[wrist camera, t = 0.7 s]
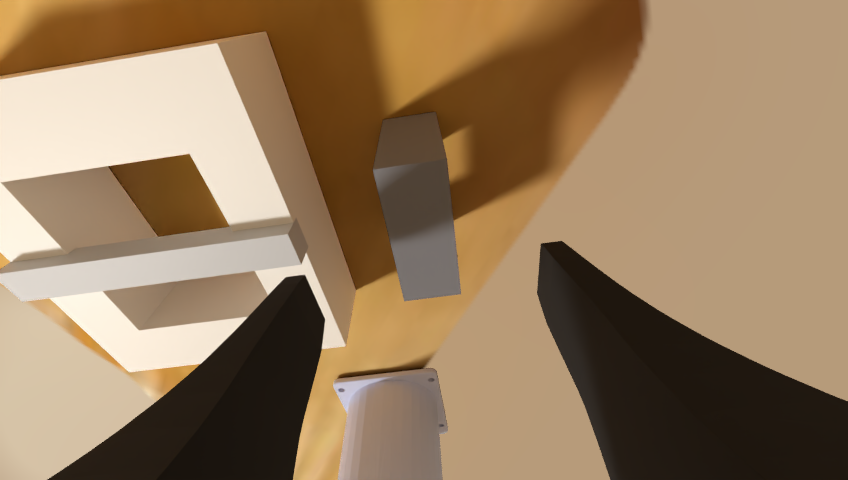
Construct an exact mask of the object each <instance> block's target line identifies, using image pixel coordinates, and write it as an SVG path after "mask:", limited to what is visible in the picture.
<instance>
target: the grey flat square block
mask: <svg viewBox="0 0 848 480" xmlns="http://www.w3.org/2000/svg"><path fill="white" fill-rule="evenodd" d="M373 173H374V177H375V181H376V185H377V190H378V194H379V198H380V202H381V206H382V210H383V215H384V219H385V223H386V227H387V231H388V235H389V239H390V244H391V248H392V252H393V256H394V260H395V264H396V268H397V273H398V277H399V281H400V285H401V289H402V293H403V297H404V301H410V300H418V299H426V298H434V297H441V296H449V295H457V294H461V289H460V279H459V270H458V260H457V251H456V241H455V232H454V222H453V213H452V203H451V193H450V184H449V174H448V165H447V157H446V153H445V149H444V145H443V140H442V136H441V132H440V128H439V123H438V119H437V115H436V112H430V113H424V114H417V115H411V116H404V117H398V118H391V119H385V120H383V122H382V127H381V132H380V137H379V142H378V146H377V151H376V156H375V161H374V166H373Z"/></svg>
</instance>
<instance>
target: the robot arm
mask: <svg viewBox="0 0 848 480" xmlns="http://www.w3.org/2000/svg"><path fill="white" fill-rule="evenodd" d="M537 294H538V297H539V301H540V304H541V307H542V310H543V313H544V316H545V319H546V322H547V325H548V327H549V329H550V331H551V333H552V336H553V338H554V339H555V342H556V344H557V346H558V348H559V350H560V352H561V355H562V357H563V359H564V361H565V363H566V365H567V368H568V370H569V372H570V374H571V376H572V378H573V380H574V382H575V385H576V387H577V389H578V391H579V393H580V396H581V398H582V401H583V403H584V405H585V408H586V410H587V413H588V416H589V419H590V422H591V425H592V427H593V430H594V433H595V436H596V439H597V441H598V444H599V447H600V450H601V453H602V456H603V459H604V462H605V465H606V468H607V471H608V474H609V477H610V480H848V401H845V400H843V399H840V398H837V397H835V396H833V395H830V394H828V393H825V392H823V391H820V390H818V389H816V388H813V387H811V386H809V385H806V384H804V383H802V382H799V381H797V380H795V379H792V378H790V377H788V376H785V375H783V374H781V373H779V372H776V371H774V370H772V369H770V368H767V367H765V366H763V365H761V364H759V363H757V362H754V361H752V360H750V359H748V358H746V357H744V356H742V355H740V354H738V353H736V352H734V351H732V350H730V349H728V348H726V347H724V346H722V345H720V344H718V343H716V342H714V341H712V340H710V339H708V338H706V337H704V336H702V335H701V334H699V333H697V332H695V331H693V330H691V329H690V328H688V327H686V326H684V325H683V324H681V323H679V322H677V321H676V320H674V319H672V318H670V317H669V316H667V315H665V314H664V313H662V312H660V311H659V310H657V309H656V308H654V307H652V306H651V305H649V304H648V303H646V302H645V301H643V300H641V299H640V298H638V297H637V296H635V295H634V294H632V293H631V292H629V291H628V290H627V289H625V288H624V287H622V286H621V285H619V284H618V283H616V282H615V281H614V280H612V279H611V278H610V277H608V276H607V275H606V274H604V273H603V272H602V271H600V270H598V268H596V267H595V266H594V265H592V264H591V263H590V262H588V261H587V260H586V259H584V258H583V257H582V256H581V255H579V254H578V253H577V252H575V251H574V250H573V249H572V248H570V247H569V246H568V245H566V244H565V243H564V242H562V241H558V242H550V243H543V244H541V249H540V263H539V276H538V290H537ZM324 326H325V318H324V316H323V313H322V311H321V309H320V307H319V305H318V302H317V300H316V298H315V296H314V293H313V291H312V289H311V287H310V285H309V282H308V280H307V278H306V276H305V275H298V276H290V277H285V278H284V279H283V280H282V281H281V282H280V283H279V284H278V285H277V286H276V287H275V289H274V290H273V291H272V292H271V293H270V294H269V295H268V296H267V297H266V298H265V299H264V300H263V301H262V302H261V304H260V305H259V306H258V307H257V308H256V309H255V310H254V311H253V312H252V313H251V314H250V315H249V316H248V317H247V318H246V320H245V321H244V322H243V323H242V324H241V325H240V326H239V327H238V328H237V329H236V330H235V331H234V332H233V333H232V334H231V335H230V336H229V337H228V338H227V339H226V340H225V341H224V342H223V343H222V344H221V345H220V346H219V347H218V348H217V349H216V350H215V351H214V352H213V353H212V354H211V355H210V356H209V357H208V358H207V359H206V360H204V361H203V362H202V363H201V364H200V365H199V366H198V367H197V368H196V369H195V370H193V371H192V372H191V373H190V374H189V375H188V376H187V377H186V378H184V379H183V380H182V381H181V382H180V383H178V384H177V385H176V386H175V387H174V388H173V389H171V390H170V391H169V392H168V393H167V394H165V395H164V396H163V397H162V398H161V399H159V400H158V401H157V402H155V403H154V404H153V405H151V406H150V407H149V408H148V409H146V410H145V411H144V412H142V413H141V414H140V415H139V416H137V417H136V418H135V419H133V420H132V421H131V422H129V423H128V424H127V425H126V426H124V427H123V428H122V429H120V430H119V431H118V432H116V433H115V434H113V435H112V436H111V437H109V438H108V439H106V440H105V441H104V442H102V443H101V444H99V445H98V446H97V447H95V448H94V449H92V450H91V451H90V452H88V453H87V454H85V455H84V456H82V457H81V458H79V459H78V460H76V461H75V462H73V463H72V464H70V465H69V466H67V467H66V468H65V469H63V470H62V471H60V472H59V473H57V474H55V475H54V476H52V477H51V478H49V479H48V480H293V474H294V468H295V462H296V456H297V449H298V443H299V437H300V433H301V428H302V424H303V419H304V415H305V412H306V408H307V404H308V400H309V397H310V393H311V389H312V385H313V381H314V378H315V374H316V370H317V366H318V362H319V358H320V354H321V350H322V343H323V335H324ZM333 387H334V389H335V391H336V393H337V395H338V397H339V399H340V401H341V403H342V405H343V407H344V408H345V410H346V412H347V420H346V426H345V433H344V440H343V447H342V454H341V461H340V467H339V474H338V480H442V466H441V451H440V437H439V434H444V433H446V432H447V431H448V427H447V422H446V416H445V411H444V406H443V401H442V396H441V391H440V386H439V381H438V376H437V371H436V370H435V369H433V368H426V369H417V370H409V371H400V372H391V373H383V374H374V375H365V376H357V377H348V378H339V379H336V380H335V381H334V383H333Z"/></svg>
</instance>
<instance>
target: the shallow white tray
mask: <svg viewBox="0 0 848 480" xmlns="http://www.w3.org/2000/svg"><path fill="white" fill-rule="evenodd" d="M185 154H190V156H191V157H192V159H193V161H194V163H195V165H196V166H197V168H198V170H199V172H200V173H201V175H202V177H203V179H204V181H205V182H206V184H207V186H208V188H209V190H210V191H211V193H212V195H213V197H214V199H215V200H216V202H217V204H218V206H219V208H220V209H221V211H222V213H223V215H224V217H225V218H226V220H227V222H228V224H229V226H230V227H225V228H217V229H210V230H203V231H196V232H189V233H182V234H175V235H167V236H160V237H158V236H157V235H156V233H155V232H154V230H153V229H152V228H151V226H150V225H149V223H148V222H147V221H146V219H145V218H144V216H143V215H142V214H141V212H140V211H139V209H138V208H137V207H136V205H135V204H134V202H133V201H132V200H131V198H130V197H129V195H128V194H127V193H126V191H125V190H124V188H123V187H122V186H121V184H120V183H119V181H118V180H117V179H116V177H115V176H114V175H113V173H112V172H111V170H110V169H109V168H108V166H112V165H119V164H125V163H132V162H138V161H145V160H152V159H158V158H165V157H171V156H178V155H185ZM0 253H2V254H3V255H4V256H5V257H6V258H7V259H8V260H9V261H10V263H9V264H7V265H6V266H4V267H3V268H1V269H0V283H1V284H3V285H4V286H5V287H6V288H7V289H8V290H10V291H11V292H12V293H13V294H14V295H15V296H16V297H18V298H19V299H20V300H21V301H22V302H24V301H32V300H39V299H47V298H50V299H51V300H52V301H53V302H54V303H55V304H56V305H57V306H58V307H60V308H61V309H62V310H63V311H64V312H65V313H66V314H67V315H68V316H69V317H70V318H71V319H72V320H73V321H75V322H76V323H77V324H78V325H79V326H80V327H81V328H82V329H83V330H84V331H85V332H86V333H87V334H89V335H90V336H91V337H92V338H93V339H94V340H95V341H96V342H97V343H98V344H99V345H100V346H101V347H102V348H104V349H105V350H106V351H107V352H108V353H109V354H110V355H111V356H112V357H113V358H114V359H115V360H116V361H118V362H119V363H120V364H121V365H122V366H123V367H124V368H125V369H126V370H127V371H128V372H135V371H144V370H152V369H160V368H169V367H177V366H185V365H194V364H201V363H202V362H203V361H204V360H206V359H207V358H208V357H209V356H210V355H211V354H212V353H213V352H214V351H215V350H216V349H217V348H218V347H219V346H220V345H221V344H222V343H223V342H224V341H225V340H226V339H227V338H228V337H229V336H230V335H231V334H232V333H233V332H234V331H235V330H236V329H237V328H238V327H239V326H240V325H241V324H242V323H243V322H244V321H245V320H246V318H247V317H248V316H249V315H250V314H251V313H252V312H253V311H254V310H255V309H256V308H257V307H258V306H259V305H260V304H261V302H262V301H263V300H264V299H265V298H266V297H267V296H268V295H269V294H270V293H271V292H272V291H273V290H274V289H275V287H276V286H277V285H278V284H279V283H280V282H281V281H282V280H283V279H284V278H285V277H290V276H298V275H305V276H306V278H307V280H308V282H309V285H310V287H311V289H312V291H313V293H314V296H315V298H316V300H317V302H318V305H319V307H320V309H321V311H322V313H323V316H324V318H325V326H324V335H323V343H322V349H327V348H335V347H344V346H346V343H347V338H348V332H349V327H350V321H351V316H352V310H353V304H354V299H355V293H356V289H355V286H354V283H353V280H352V278H351V275H350V272H349V269H348V266H347V263H346V260H345V257H344V254H343V252H342V249H341V246H340V243H339V240H338V237H337V234H336V231H335V229H334V226H333V223H332V220H331V217H330V214H329V211H328V208H327V205H326V203H325V200H324V197H323V194H322V191H321V188H320V185H319V182H318V180H317V177H316V174H315V171H314V168H313V165H312V162H311V159H310V156H309V154H308V151H307V148H306V145H305V142H304V139H303V136H302V133H301V131H300V128H299V125H298V122H297V119H296V116H295V113H294V110H293V107H292V105H291V102H290V99H289V96H288V93H287V90H286V87H285V84H284V82H283V79H282V76H281V73H280V70H279V67H278V64H277V61H276V59H275V56H274V53H273V50H272V47H271V44H270V41H269V38H268V35H267V33H266V31H264V32H258V33H252V34H246V35H240V36H234V37H229V38H223V39H217V40H211V41H205V42H199V43H193V44H187V45H181V46H175V47H169V48H163V49H157V50H151V51H145V52H140V53H134V54H128V55H122V56H116V57H110V58H104V59H98V60H92V61H86V62H80V63H74V64H68V65H62V66H56V67H50V68H45V69H39V70H33V71H27V72H21V73H15V74H9V75H3V76H0Z"/></svg>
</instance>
